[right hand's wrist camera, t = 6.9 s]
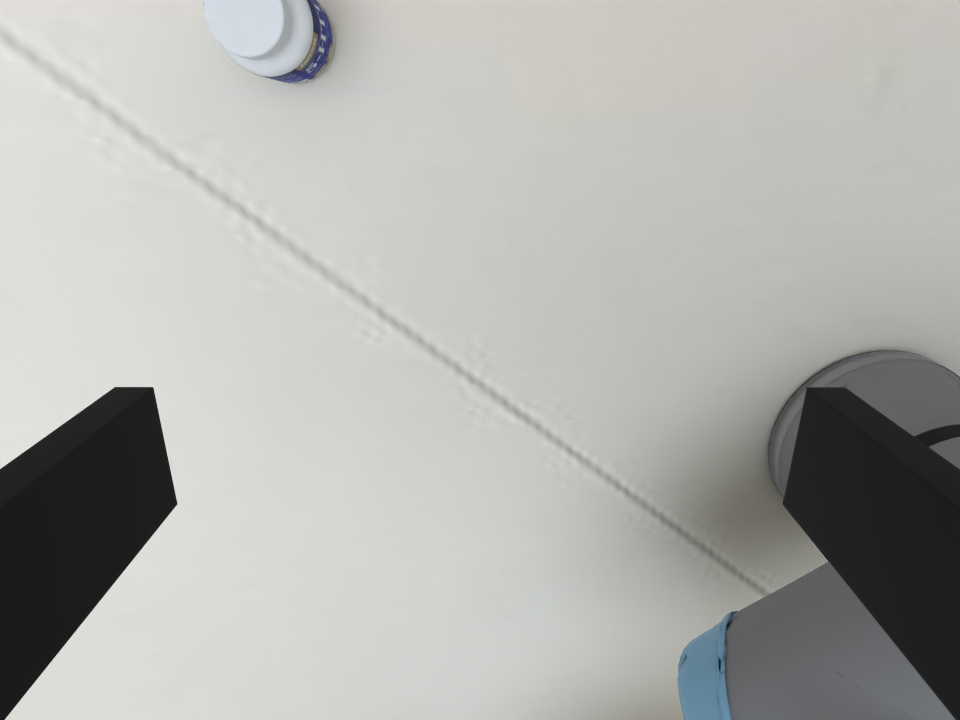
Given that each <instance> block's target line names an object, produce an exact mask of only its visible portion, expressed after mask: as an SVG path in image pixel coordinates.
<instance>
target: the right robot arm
mask: <svg viewBox="0 0 960 720" xmlns="http://www.w3.org/2000/svg"><path fill="white" fill-rule="evenodd" d="M769 467H770V471H771V475H772V478H773V481H774V483H775V485H776V487H777V489H778V490H779V492H780V493H781V494H782V496H783V497H784V500H783V505H784V506H785V508H786V509H787V510H788V511H789V513H790V514H791V515H792V516H793V518H794V519H795V520H796V521H797V523H798V524H799V525H800V526H801V528H802V529H803V530H804V531H805V533H806V534H807V535H808V536H809V538H810V539H811V540H812V541H813V543H814V544H815V545H816V546H817V548H818V549H819V550H820V551H821V552H822V554H823V555H824V556H825V557H826V559H827V560H828V561H829V562H828V563H826V564H824V565H822V566H820V567H819V568H817V569H815V570H813V571H812V572H810V573H808V574H806V575H804V576H803V577H801V578H799V579H797V580H795V581H794V582H792V583H790V584H788V585H787V586H785V587H783V588H781V589H779V590H777V591H776V592H774V593H772V594H770V595H768V596H766V597H764V598H762V599H761V600H759V601H757V602H755V603H753V604H751V605H749V606H748V607H746V608H744V609H742V610H740V611H735V612H731V613H729V614H727V615H726V616H725V617H724V619H723V620H722V622H720V623H719V624H717V625H716V626H714V627H713V628H711V629H710V630H708V631H707V632H705V633H703V634H702V635H700V636H699V637H697V638H695V639H694V640H692V641H691V642H690V643H689V644H688V645H687V646H686V647H685V649H684V650H683V652H682V654H681V657H680V662H679V666H678V689H679V696H680V702H681V707H682V712H683V715H684V719H685V720H960V377H959V376H957V375H956V374H955V373H953V372H952V371H950V370H949V369H947V368H945V367H943V366H941V365H939V364H937V363H935V362H933V361H931V360H929V359H927V358H925V357H922V356H919V355H917V354H913V353H908V352H901V351H876V352H870V353H864V354H860V355H856V356H853V357H850V358H847V359H844V360H842V361H840V362H837V363H835V364H833V365H831V366H830V367H828V368H826V369H824V370H823V371H821V372H819V373H818V374H816V375H815V376H814V377H812V378H811V379H810V380H809V381H807V382H806V383H805V384H804V385H803V386H802V387H801V388H800V389H799V390H798V391H797V392H796V393H795V394H794V395H793V396H792V397H791V399H790V400H789V401H788V402H787V404H786V405H785V407H784V408H783V410H782V411H781V413H780V415H779V417H778V419H777V421H776V423H775V426H774V428H773V431H772V434H771V439H770V443H769ZM176 505H177V500H176V495H175V490H174V486H173V481H172V476H171V471H170V466H169V461H168V457H167V452H166V447H165V442H164V437H163V432H162V428H161V423H160V418H159V413H158V408H157V403H156V398H155V394H154V389H153V387H115V388H113V389H112V390H111V391H109V392H108V393H106V394H105V395H104V396H102V397H101V398H99V399H98V400H97V401H95V402H94V403H92V404H91V405H90V406H88V407H87V408H85V409H84V410H83V411H81V412H80V413H78V414H77V415H76V416H74V417H73V418H71V419H70V420H69V421H67V422H66V423H64V424H63V425H62V426H60V427H59V428H57V429H56V430H55V431H53V432H52V433H50V434H49V435H48V436H46V437H45V438H43V439H42V440H41V441H39V442H38V443H36V444H35V445H34V446H32V447H31V448H29V449H28V450H27V451H25V452H24V453H22V454H21V455H20V456H18V457H17V458H15V459H14V460H13V461H11V462H10V463H8V464H7V465H6V466H4V467H3V468H1V469H0V720H5V718H6V717H7V716H8V715H9V713H10V712H11V711H12V710H13V708H14V707H15V706H16V705H17V703H18V702H19V701H20V700H21V698H22V697H23V696H24V695H25V693H26V692H27V691H28V690H29V688H30V687H31V686H32V685H33V683H34V682H35V681H36V680H37V678H38V677H39V676H40V675H41V673H42V672H43V671H44V670H45V668H46V667H47V666H48V665H49V663H50V662H51V661H52V660H53V658H54V657H55V656H56V655H57V654H58V652H59V651H60V650H61V649H62V647H63V646H64V645H65V644H66V642H67V641H68V640H69V639H70V637H71V636H72V635H73V634H74V632H75V631H76V630H77V629H78V627H79V626H80V625H81V624H82V622H83V621H84V620H85V619H86V617H87V616H88V615H89V614H90V612H91V611H92V610H93V609H94V607H95V606H96V605H97V604H98V602H99V601H100V600H101V599H102V597H103V596H104V595H105V594H106V592H107V591H108V590H109V589H110V587H111V586H112V585H113V584H114V582H115V581H116V580H117V579H118V577H119V576H120V575H121V574H122V572H123V571H124V570H125V569H126V567H127V566H128V565H129V564H130V562H131V561H132V560H133V559H134V557H135V556H136V555H137V554H138V552H139V551H140V550H141V549H142V548H143V546H144V545H145V544H146V543H147V541H148V540H149V539H150V538H151V536H152V535H153V534H154V533H155V531H156V530H157V529H158V528H159V526H160V525H161V524H162V523H163V521H164V520H165V519H166V518H167V516H168V515H169V514H170V513H171V511H172V510H173V509H174V508H175V506H176Z"/></svg>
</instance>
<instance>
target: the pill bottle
mask: <svg viewBox="0 0 960 720" xmlns="http://www.w3.org/2000/svg"><path fill="white" fill-rule="evenodd" d="M203 9H204V16H205V20H206V23H207V26H208V28H209V30H210V32H211V34H212V35H213V37H214V38H215V40H216V41H217V42H218V43H219V44H220V45H221V46H222V48H223V50H224V51H225V53H226V54H227V55H228V56H229V57H230V58H231V60H233V61H234V62H235V63H236V64H237V65H238V66H240V67H241V68H243V69H245V70H246V71H248V72H251V73H253V74H255V75H258V76H262V77H266V78H270V79H274V80H278V81H282V82H285V83H291V84H303V83H307V82H310V81H312V80H314V79H316V78H318V77H319V76H320V75H321V74H322V73H324V71H325V70H326V69H327V67H328V66H329V64H330V62H331V60H332V57H333V53H334V47H335V36H334V30H333V26H332V23H331V21H330V19H329V17H328V15H327V13H326V11H325V10H324V9H323V7H322V6H321V5H320V4H319V3H318V2H317V1H316V0H204V5H203Z"/></svg>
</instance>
